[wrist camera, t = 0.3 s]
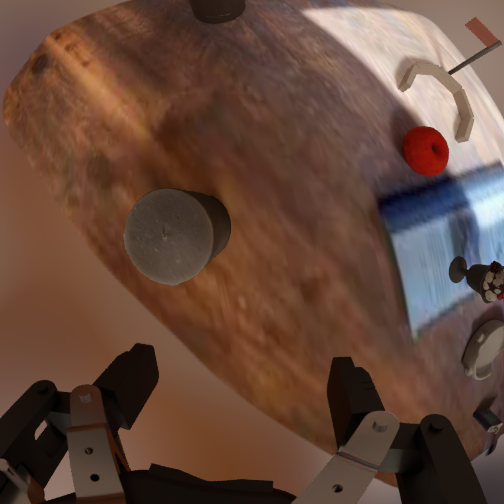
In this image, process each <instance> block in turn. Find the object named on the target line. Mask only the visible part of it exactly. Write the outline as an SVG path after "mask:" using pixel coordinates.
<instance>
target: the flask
mask: <svg viewBox="0 0 504 504" xmlns="http://www.w3.org/2000/svg"><path fill="white" fill-rule="evenodd" d="M472 416H473V417H474V418H475V419H476V420H477V421H478V422H479V423H480V424H481V425H482V427H483V428H484V429H485V430H486V431H487V432H492V431H493V432H498V430H499V429H500V427H501V425H502V424H503V422H502V421H501V420H500V419H499V418H498V417H497V416H496V415H495V414H494V413H493V412H492V411H491V410H490V409H489V408H487V409H482V410H477V411H475V412H474V414H473V415H472ZM495 434H496V433H495Z"/></svg>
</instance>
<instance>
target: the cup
mask: <svg viewBox="0 0 504 504" xmlns="http://www.w3.org/2000/svg"><path fill="white" fill-rule="evenodd" d="M465 26H466V27H467V28H468V29H469V30H471V31H472V32H473V33H474V34H475V35H476V36H477V37H478V38H479V39H480V40H481V41H482V42H483V43H484V44H485V45H486V46H487V48H485V49H483V50H482V51H480V52H478V53H477V54H475V55H474V56H472V57H470V58H469V59H467V60H466V61H464V62H463V63H461V64H459V65H458V66H456V67H455V68H453V69H452V70H450V71H449V72H446V71H445V70H444V69H443V68H442V67H439V65H433V64H424V63H416V64H414V65H413V66H412V67H410V68H409V69H408V70H407V72H406V74H405V76H404V78H403V80H402V82H401V85H400V87H399V90H400V91H402V92H404V91H406V90H407V89H408V88H410V87H411V85H412V83H413V81H414V79H415V76H416V74H421V75H432V76H434V77H435V78H436V79H437V80H438V81H439V82H440V83H441V84H442V85H444V86H445V87H446V88H447V89H448V90H449V91H450V92H451V93H452V94H453V97H454V99H455V102H456V105H457V107H458V110H459V113H460V116H461V119H462V120H461V123H460V127H459V130H458V133H457V136H456V139H455V140H456V141H457V142H458V143H461V142H465V141H468V140H469V136H470V133H471V130H472V126H473V122H474V119H473V117H474V115H473V112H472V109H471V107H470V104H469V101H468V98H467V96H466V93H465V91H464V89H462V86H461V85H460V84H459V83H458V82H457V81H456V80H455V79H454V78H453V77H452V76H451V75H452V74H453V73H455V72H457V71H458V70H460V69H461V68H463V67H465V66H466V65H468V64H470V63H471V62H473V61H475V60H476V59H478V58H480V57H481V56H483V55H485V54H486V53H488V52H490V51H491V50H493V49H495V48H497V47H498V46H500V45H502V43H501V41H500V40H498V39H497V38H496V37H495V36H494V35H493V34H492V33H491V32H490V31H489V30H488V29H487V28H486V27H485V26H484V25H483V24H482V23H481V22H480V21H479V20H478V19H477V18H476V17H474V18H473V19H472V20H471V21H469V22H468V23H467V24H465Z"/></svg>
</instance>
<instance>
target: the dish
mask: <svg viewBox="0 0 504 504" xmlns="http://www.w3.org/2000/svg"><path fill="white" fill-rule="evenodd" d="M502 350H504V322H502V321H499V320H490V321H488V322H486V323H485V324H484V325H482V326H481V327H480V328H479V329H478V330H477V331H476V333H475V334H474V335H473V337H472V339H471V340H470V342H469V344H468V347H467V349H466V352H465V355H464V359H463V367H464V373H465V374H466V375H467V376H469V375H470V376H471V377H473V378H474V379H477V380H482V379H485V378H486V377H488V376H489V375H490V374H491V372H492V371H491V366H492V362H493V359H494V358H495V356H496V355H497V354H498V353H499V352H501V351H502Z"/></svg>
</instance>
